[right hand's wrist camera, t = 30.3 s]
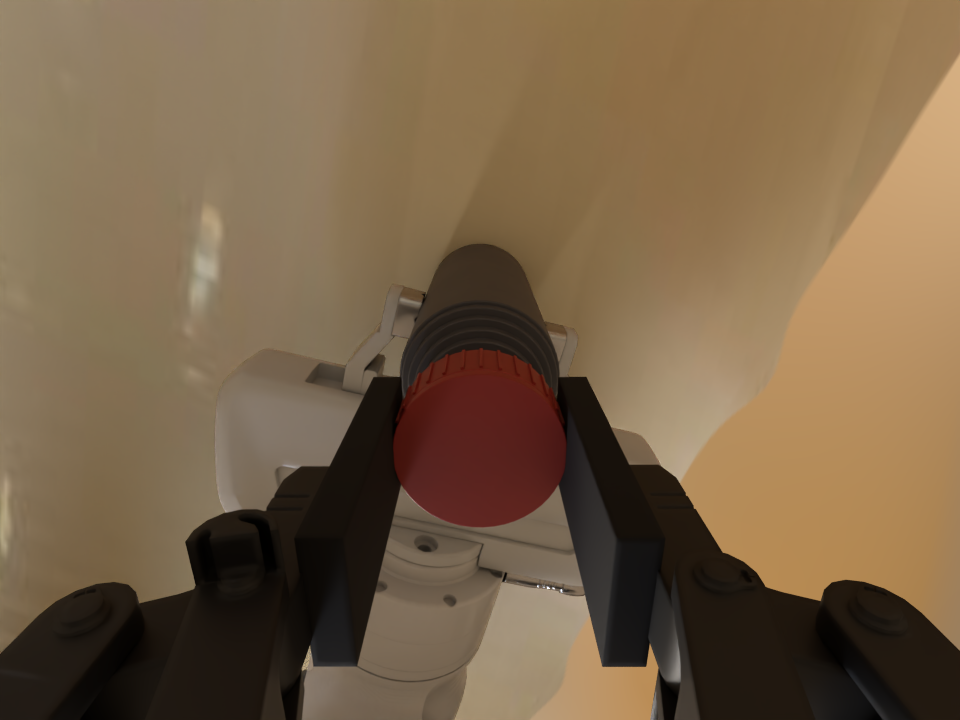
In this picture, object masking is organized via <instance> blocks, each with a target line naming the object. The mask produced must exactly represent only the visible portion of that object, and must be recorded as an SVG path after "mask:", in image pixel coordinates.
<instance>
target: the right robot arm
mask: <svg viewBox="0 0 960 720" xmlns="http://www.w3.org/2000/svg"><path fill="white" fill-rule="evenodd" d="M402 400H403V397H402V379H401V377H373V379H372V381H371V383H370V385H369V387H368V389H367V391H366V393H365V395H364V397H363V399H362V401H361V403H360V405H359V407H358V409H357V411H356V413H355V415H354V417H353V420H352V422H351V424H350V426H349V428H348V430H347V432H346V434H345V436H344V438H343V440H342V442H341V444H340V446H339V448H338V450H337V452H336V454H335V456H334V458H333V460H332V462H331V464H330V466H301V467H299V468H298V469H297V470H296V471H294V472H293V473H292V474H290V475H289V476H288V477H286V478H285V479H284V480H283V481H282V483H281V485H280V486H279V488H278V489H277V491H276V493H275V494H274V498H272V499H271V501H270V502H269V504H268V506H267V507H266V511H262V510H259V509H240V510H236V511H232V512H227V513H223V514H221V515H219V516H217V517H214V518H212V519H210V520H208V521H206V522H205V523H203V524H202V525H201V526H199V527H198V528H196V529H195V530H194V531H193V532H192V533H191V535H190V536H189V537H188V539H187V540H186V541H185V543H186V547H187V551H188V555H189V559H190V564H191V568H192V572H193V576H194V580H195V584H196V586H195V589H193V590H191V591H187V592H184V593H181V594H177V595H173V596H169V597H165V598H160V599H156V600H152V601H148V602H143V603H139V600H138V597H137V594H136V592H135V591H134V590H133V589H132V588H131V587H130V586H129V585H127V584H122V583H117V582H111V583H102V584H95V585H92V586H89V587H86V588H83V589H80V590H77V591H75V592H73V593H71V594H69V595H68V596H66V597H64V598H62V599H60V600H58V601H56V602H55V603H54V604H52V605H51V606H50V607H49V608H47V609H46V610H45V611H44V612H42V613H41V614H40V615H39V616H38V617H37V618H36V619H35V620H34V621H33V622H32V623H31V624H30V625H29V626H28V627H27V628H26V629H25V630H24V631H23V632H22V633H21V634H20V635H19V636H18V637H17V638H16V639H15V640H14V641H13V642H12V643H11V644H10V645H9V646H8V647H7V648H6V649H5V650H4V651H3V652H2V653H1V654H0V720H302V713H303V703H304V692H305V689H304V682H303V675H302V666H303V663H304V660H305V657H306V655H307V652H308V649H309V646H310V647H311V654H312V660H313V667H357V665H358V661H359V657H360V653H361V649H362V645H363V640H364V636H365V632H366V628H367V624H368V620H369V616H370V612H371V607H372V603H373V599H374V595H375V591H376V587H377V583H378V579H379V574H380V570H381V566H382V562H383V558H384V554H385V550H386V546H387V541H388V537H389V533H390V529H391V525H392V521H393V517H394V513H395V508H396V504H397V500H398V496H399V492H400V488H401V483H400V481H399V479H398V477H397V474H396V471H395V467H394V452H393V437H394V433H395V430H396V426H397V424H396V423H395V421H396V418H397V415H398V412H399V409H400V406H401V403H402ZM557 401H558V404H559V407H560V410H561V413H562V416H563V419H564V422H565V426H563V427H564V430H565V434H566V439H567V447H566V462H565V471H564V473H563V476H562V478H561V481H560V483H559V484H558V485H559V489H560V493H561V497H562V502H563V506H564V510H565V514H566V518H567V522H568V526H569V530H570V535H571V539H572V543H573V547H574V551H575V555H576V559H577V563H578V568H579V572H580V576H581V580H582V584H583V588H584V592H585V597H586V601H587V605H588V609H589V613H590V617H591V621H592V625H593V629H594V633H595V638H596V642H597V646H598V650H599V654H600V658H601V663H602V666H603V667H646V665H647V658H648V651H649V645H650V644H651V647H652V650H653V653H654V656H655V658H656V661H657V664H658V667H659V669H658V675H657V681H656V687H655V693H654V700H653V706H652V712H651V720H960V651H959V650H958V649H957V648H956V647H955V646H954V645H953V644H952V643H951V642H950V641H949V640H948V639H947V638H946V637H945V636H944V635H943V634H942V633H941V632H940V631H939V630H938V629H937V628H936V627H935V626H934V625H933V624H932V623H931V622H930V621H929V620H928V619H927V618H926V617H925V616H924V615H923V614H922V613H921V612H920V611H918V610H917V609H916V608H915V607H913V606H912V605H911V604H910V603H908V602H907V601H906V600H905V599H903V598H901V597H899V596H897V595H895V594H893V593H892V592H890V591H888V590H886V589H884V588H881V587H878V586H875V585H872V584H869V583H866V582H860V581H852V580H842V581H837V582H832V583H831V584H830V585H829V586H828V587H827V588H826V589H824V592H823V596H822V599H821V601H818V600H813V599H809V598H804V597H800V596H796V595H792V594H788V593H783V592H780V591H776V590H773V589H770V588H767V587H765V585H764V583H763V582H762V580H761V579H760V577H759V576H758V574H757V573H756V572H755V571H754V570H753V569H752V568H750V567H749V566H748V565H747V564H745V563H744V562H743V561H741V560H739V559H737V558H735V557H733V556H731V555H729V554H726V553H723V552H722V551H721V549H720V548H719V546H718V544H717V543H716V541H715V540H714V538H713V536H712V535H711V533H710V531H709V530H708V528H707V527H706V525H705V523H704V522H703V520H702V519H701V517H700V515H699V514H698V512H697V510H696V509H694V507H693V504H692V503H691V501H690V499H689V498H688V496H686V493H685V491H684V490H683V488H682V486H681V485H680V483H679V481H678V480H677V478H676V477H675V476H673V475H672V474H671V473H669V472H668V471H667V470H665V469H664V468H663V467H661V466H660V465H629V463H628V461H627V459H626V457H625V455H624V453H623V451H622V449H621V447H620V445H619V443H618V441H617V439H616V436H615V434H614V432H613V430H612V428H611V426H610V424H609V422H608V420H607V418H606V416H605V414H604V412H603V410H602V408H601V406H600V404H599V402H598V400H597V398H596V396H595V394H594V392H593V390H592V388H591V386H590V384H589V382H588V380H587V378H586V377H558V391H557Z"/></svg>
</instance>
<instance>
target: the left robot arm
mask: <svg viewBox="0 0 960 720" xmlns="http://www.w3.org/2000/svg"><path fill="white" fill-rule="evenodd" d="M425 295H426V292H422V291H419V290H415V289H411V288H407V287H404V286H400V285H395V284H393V285H392V286H391V288H390V289H389V292H388V295H387V298H386V302H385V307H384V312H383V317H382V322H381V323H380V324H379V325H378V326H377V327H376V328H375V330H374V331H373V332H372V333H371V334H370V335H369V336H368V337H367V338H366V339H365V340H364V341H363V342H362V343H361V344H360V345H359V347H358V348H357V349H356V350H355V352H354V353H353V355H352V356H351V358H350V359H349V361H348V362H347V364H346V366H344V365H339V364H335V363H331V362H326V361H322V360H318V359H313V358H309V357H305V356H301V355H296V354H292V353H288V352H284V351H279V350H275V349H263V350H261V351H259V352H258V353H256V354H255V355H253V356H251V357H250V358H248V359H247V360H245V361H244V362H243V363H241V364H240V365H239V366H238V367H237V368H236V369H234V370H233V371H232V372H231V373H230V374H229V375H228V376H227V378H226V379H225V380H224V382H223V383H222V385H221V387H220V389H219V392H218V397H217V404H216V415H215V468H216V481H217V489H218V495H219V498H220V501H221V504H222V506H223V508H224V510H225V512H226V513H227V512H232V511H236V510H240V509H259V510H262V511H266V507H267V506H268V504H269V502H270V501H271V499H272V498H274V494H275V493H276V491H277V489H278V488H279V486H280V485H281V483H282V481H283V480H284V479H285V478H286V477H288V476H289V475H290V474H292V473H293V472H294V471H296V470H297V469H298V468H299V467H301V466H330V464H331V462H332V460H333V458H334V456H335V454H336V452H337V450H338V448H339V446H340V444H341V442H342V440H343V438H344V436H345V434H346V432H347V430H348V428H349V426H350V424H351V422H352V420H353V417H354V415H355V413H356V411H357V409H358V407H359V405H360V403H361V401H362V399H363V397H364V395H365V393H366V391H367V389H368V387H369V385H370V383H371V381H372V379H373V377H391V376H387V375H383V370H384V364H385V359H386V357H385V356H384V355H382V354H379V352H380V351H381V350H382V349H383V348H384V347H385V346H386V345H387V344H388V343H389V342H390V341H391V340H392V339H393V338H394V336H399V337H403V338H408V339H409V337H410V335H411V332H412V330H413V327H414V325H415V322H416V320H417V317H418V315H419V312H420V310H421V307H422V305H423V302H424V300H425ZM544 323H545V325H546V328H547V330H548V333H549V335H550V338H551V340H552V343H553V345H554V348H555V351H556V353H557V357H558V362H559V370H560V377H569V375H568V371H569V368H570V365H571V362H572V359H573V356H574V353H575V350H576V347H577V342H578V335H577V333H576V331H575V330H574V328H570V327H566V326H562V325H558V324H553V323H549V322H545V321H544ZM402 397H403V399H405V398H404V395H403V392H402ZM555 398H556V401H557V394H556V397H555ZM612 430H613V432H614V434H615V436H616V439H617V441H618V443H619V445H620V447H621V449H622V451H623V453H624V455H625V457H626V459H627V461H628V463H629V465H660V463H659V461H658V459H657V457H656V455H655V454H654V452H653V451H652V449H651V448H650V446H649V445H648V443H647V442H646V440H645V439H644V438H643V437H642V436H641V435H639V434H636V433H633V432H629V431H624V430H620V429H616V428H612ZM660 466H661V465H660ZM502 582H505V583H506V582H507V583H510V584H515V585H520V586H525V587H531V588H543V589H546V588H547V589H550V590H551V589H552V590H555V591H559V593H562V594H565V595H570V596H584V595H585V592H584V588H583V584H582V580H581V576H580V572H579V568H578V563H577V559H576V555H575V551H574V547H573V543H572V539H571V535H570V530H569V526H568V522H567V518H566V514H565V510H564V506H563V502H562V497H561V493H560V489H559V485H558V486H557V488H556V489H555V491H554V492H553V493H552V495H551V496H550V497H549V499H547V500H546V501H545V502H544V503H543V504H542V505H541V506H540V507H539V508H537V509H536V510H535V511H534V512H532V513H530V514H529V515H527V516H525V517H523V518H521V519H519V520H516V521H514V522H511V523H508V524H504V525H500V526H494V527H484V528H480V527H466V526H460V525H456V524H452V523H449V522H446V521H443V520H441V519H439V518H437V517H435V516H433V515H431V514H429V513H428V512H426V511H425V510H423V509H422V508H421V507H420V506H419V505H417V504H416V503H415V502H414V501H413V500H412V499H411V498H410V496H409V495H408V494H407V493H406V491H405V490H404V488H403V487H402V485H401V488H400V492H399V496H398V500H397V504H396V508H395V513H394V517H393V521H392V525H391V529H390V533H389V537H388V541H387V546H386V550H385V554H384V558H383V562H382V566H381V570H380V574H379V579H378V583H377V587H376V591H375V595H374V599H373V603H372V607H371V612H370V616H369V620H368V624H367V628H366V632H365V636H364V640H363V645H362V649H361V653H360V657H359V661H358V665H357V667H313V660H312V654H311V655H310V660H309V664H308V669H307V670H306V669H305V670H304V671H302V675H303V682H304V689H305V692H304V703H303V713H302V720H454V719H455V716H456V714H457V711H458V709H459V706H460V703H461V700H462V697H463V693H464V689H465V684H466V675H467V665H468V664H469V663H470V662H471V660H472V659H473V657H474V656H475V654H476V652H477V651H478V648H479V646H480V644H481V641H482V639H483V636H484V633H485V630H486V627H487V624H488V621H489V618H490V615H491V612H492V609H493V606H494V603H495V600H496V598H497V595H498V592H499V589H500V586H501V583H502Z"/></svg>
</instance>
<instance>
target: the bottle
mask: <svg viewBox="0 0 960 720" xmlns="http://www.w3.org/2000/svg"><path fill="white" fill-rule="evenodd" d="M480 348H483V350H491V351H497V350H500V352H501V353H505V354H508V355H511V356H514V355H515V356H517V358H518V359H520V360H521V361H523V362H525V363H526V364H529V363H530V364H531V365H532V368H533V369H534V370H535V371H536V372H537V373H538V374H539V375H541V374H542V375H543V376H544V379H545V382H546V383H547V385H548V386H549V388H551V387H552V389H553V392H554V395H555V397H556V394H557V391H558V377H560V370H559V362H558V357H557V353H556V351H555V348H554V345H553V343H552V340H551V338H550V335H549V333H548V330H547V328H546V325H545V323H544V320H543V318H542V315H541V313H540V310H539V308H538V305H537V303H536V300H535V298H534V295H533V293H532V290H531V288H530V285H529V283H528V280H527V278H526V275H525V273H524V271H523V269H522V267H521V266H520V264H519V263H518V261H517V260H516V259H515V258H514V257H513V256H511V255H510V254H509V253H508V252H506V251H504V250H503V249H500V248H498V247H495V246H492V245H486V244H473V245H468V246H464V247H462V248H459V249H457V250H456V251H454V252H452V253H451V254H450V255H448V256H447V257H446V258H445V259H444V260H443V261H442V263H441V264H440V265H439V267H438V269H437V270H436V272H435V275H434V277H433V280H432V282H431V285H430V287H429V290H428V292H427V295H426V297H425V300H424V302H423V305H422V307H421V310H420V312H419V315H418V317H417V320H416V322H415V325H414V327H413V330H412V332H411V335H410V337H409V340H408V342H407V345H406V347H405V350H404V352H403V356H402V360H401V367H400V377H401V379H402V392H403V395H404V398H405V395H406V392H407V389H408V387H409V385H410V386H412V384H413V383H414V381H415V380H416V378H417V375H418V373H419V372H420V373H422V372H423V371H424V370H426V369H427V368H428V367H429V366H430V363H432V362H433V363H435V362H436V361H438V360H440V359H442V358H444V357H445V355H447V354H448V355H452V354H455V353H458V352H462V350H464V349H465V351H469V350H480Z"/></svg>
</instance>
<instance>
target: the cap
mask: <svg viewBox="0 0 960 720" xmlns="http://www.w3.org/2000/svg"><path fill="white" fill-rule="evenodd" d="M395 423H396V424H397V426H396V430H395V433H394V437H393V452H394V467H395V471H396V474H397V477H398V479H399V481H400V483H401V485H402V487H403V488H404V490H405V491H406V493H407V494H408V495H409V496H410V498H411V499H412V500H413V501H414V502H415V503H416V504H417V505H419V506H420V507H421V508H422V509H423V510H425V511H426V512H428V513H429V514H431V515H433V516H435V517H437V518H439V519H441V520H443V521H446V522H449V523H452V524H456V525H460V526H466V527H480V528H484V527H494V526H500V525H504V524H508V523H511V522H514V521H516V520H519V519H521V518H523V517H525V516H527V515H529V514H530V513H532V512H534V511H535V510H536V509H537V508H539V507H540V506H541V505H542V504H543V503H544V502H545V501H546V500H547V499H549V497H550V496H551V495H552V493H553V492H554V491H555V489H556V488H557V486H558V484H559V483H560V481H561V478H562V476H563V473H564V471H565V462H566V447H567V439H566V434H565V430H564V427H563V426H565V422H564V419H563V416H562V413H561V410H560V407H559V404H558V401H556V398H555V395H554V392H553V389H552V387H551V388H549V386H548V385H547V383H546V382H545V379H544V376H543V375H542V374H541V375H539V374H538V373H537V372H536V371H535V370H534V369H533V368H532V365H531V364H530V363H529V364H526V363H525V362H523V361H521V360H520V359H518V358H517V356H515V355H514V356H511V355H508V354H505V353H501V352H500V350H497V351H491V350H483V348H480V350H469V351H465V349H464V350H462V352H458V353H455V354H452V355H448V354H447V355H445V357H444V358H442V359H440V360H438V361H436V362H435V363H433V362H432V363H430V366H429V367H428V368H427V369H426V370H424V371H423V372H422V373H420V372H419V373H418V375H417V378H416V380H415V381H414V383H413V384H412V386H410V385H409V387H408V389H407V392H406V395H405V399H403V400H402V403H401V406H400V409H399V412H398V415H397V418H396V421H395Z"/></svg>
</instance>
